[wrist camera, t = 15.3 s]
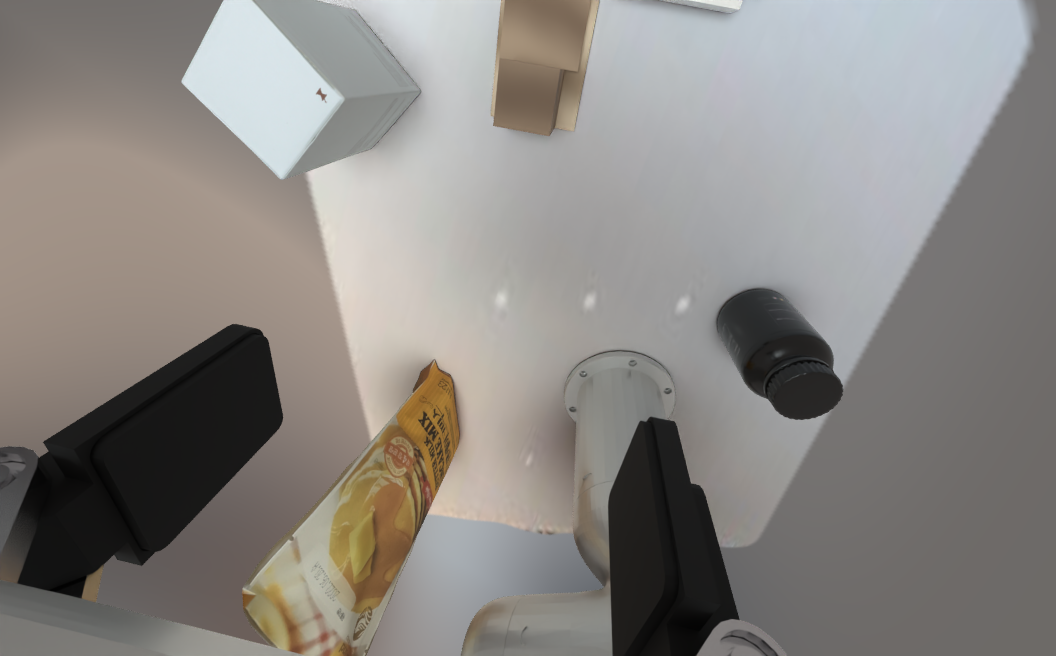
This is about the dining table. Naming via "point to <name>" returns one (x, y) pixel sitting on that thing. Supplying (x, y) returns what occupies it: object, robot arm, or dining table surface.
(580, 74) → the pad
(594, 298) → the dining table surface
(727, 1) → the tile
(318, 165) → the supplement box
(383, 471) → the pancake mix bag
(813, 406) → the supplement bottle
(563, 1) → the wooden block stack
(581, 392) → the robot arm
